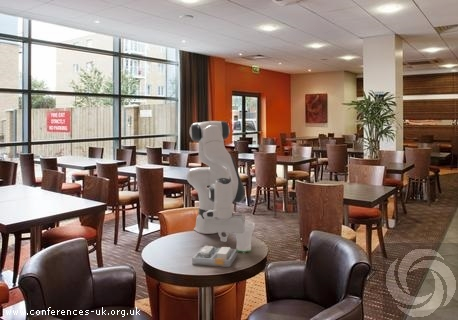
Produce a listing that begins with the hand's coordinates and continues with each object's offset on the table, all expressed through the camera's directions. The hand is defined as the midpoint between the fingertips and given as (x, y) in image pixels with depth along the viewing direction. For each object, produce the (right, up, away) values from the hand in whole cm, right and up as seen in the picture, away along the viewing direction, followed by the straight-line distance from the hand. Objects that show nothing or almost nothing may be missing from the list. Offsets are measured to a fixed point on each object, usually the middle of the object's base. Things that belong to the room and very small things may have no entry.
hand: (223, 241), depth 192 cm
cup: (+10, -8, +15) cm, 20 cm away
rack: (-4, -9, +2) cm, 10 cm away
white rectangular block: (0, -9, +1) cm, 9 cm away
